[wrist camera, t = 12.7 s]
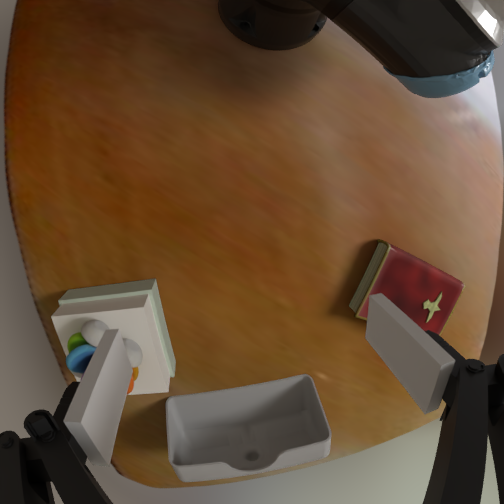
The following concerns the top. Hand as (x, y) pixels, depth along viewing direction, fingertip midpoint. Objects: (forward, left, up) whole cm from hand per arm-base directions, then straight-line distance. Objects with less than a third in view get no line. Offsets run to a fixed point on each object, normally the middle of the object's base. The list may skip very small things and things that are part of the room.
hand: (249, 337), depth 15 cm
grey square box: (+13, -17, -28) cm, 35 cm away
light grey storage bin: (+35, -1, -28) cm, 45 cm away
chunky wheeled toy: (+12, -17, -20) cm, 28 cm away
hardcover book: (+15, +30, -28) cm, 44 cm away
